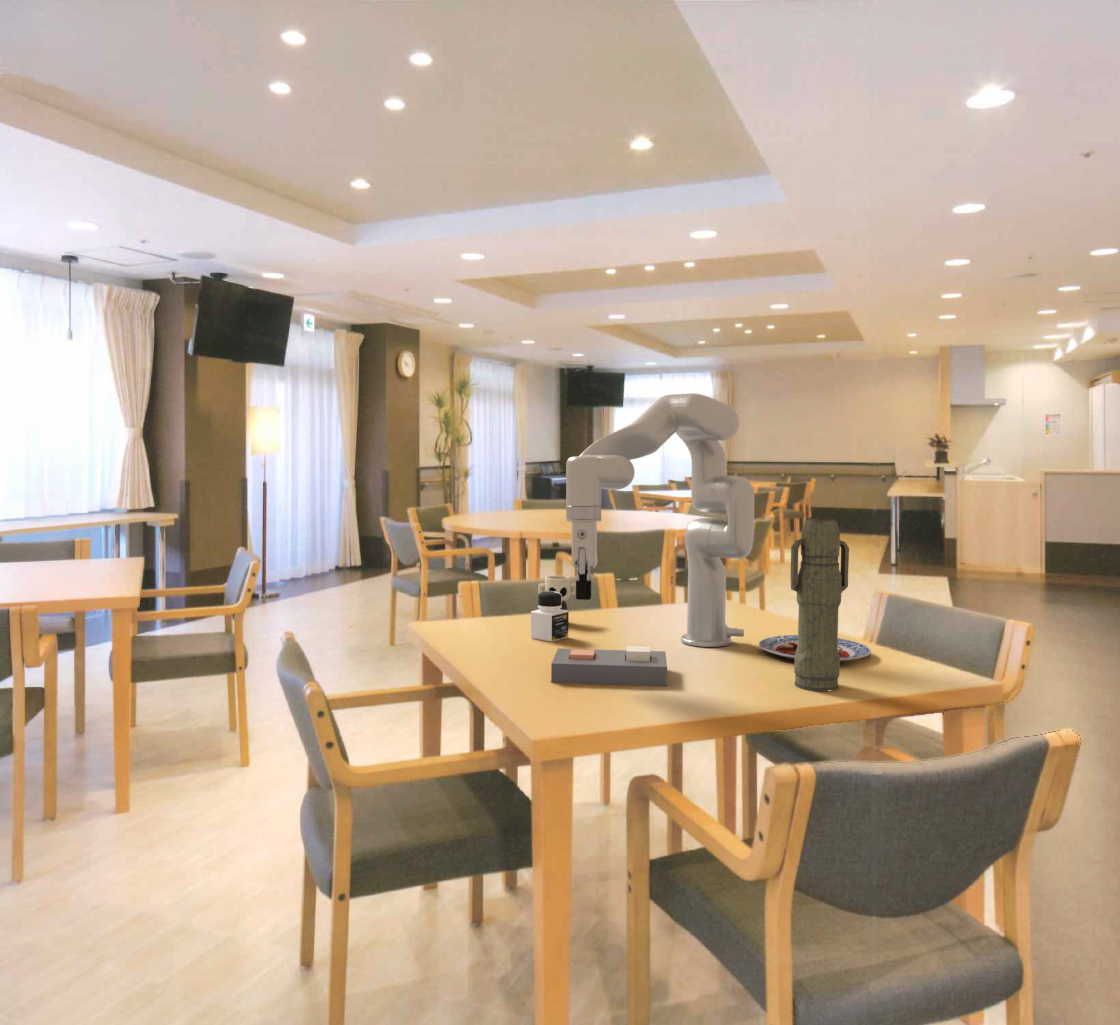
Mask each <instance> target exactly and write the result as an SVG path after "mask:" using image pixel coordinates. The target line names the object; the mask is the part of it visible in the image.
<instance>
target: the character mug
mask: <svg viewBox="0 0 1120 1025" xmlns="http://www.w3.org/2000/svg"><path fill="white" fill-rule="evenodd" d="M571 587H572V589H573V591H571ZM542 588H544V592H545V591H554V592H558V593H560V594H561V595H562V608H560V609H561V610H567V611H568V605H567V603H566V601H568V600H569V599H570V598H571V596H576V582H575V583H571V577H570V576H568V575H567V576H566V575H549V576H545V577H544V583H538V587H537V590H538V591H537V594H538V595H539V593H541V592H543V591H542V590H543V589H542Z"/></svg>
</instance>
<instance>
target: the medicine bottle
mask: <svg viewBox="0 0 1120 1025" xmlns="http://www.w3.org/2000/svg"><path fill="white" fill-rule="evenodd" d="M537 596H538V598H537V608H538V609H536V610H531V611H530V638H531V639H533V640H539V641H545V642H551V643H554V642H557V641H561V640H563V639H564V640H565V639H568V638H569V610H568V609H567V610H561V609H560V608H562V595H561V594H560V593H558V592H554V591H545V590H544V591H542V592H541V593H539V594H538V595H537Z"/></svg>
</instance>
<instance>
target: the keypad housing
mask: <svg viewBox="0 0 1120 1025" xmlns="http://www.w3.org/2000/svg"><path fill="white" fill-rule="evenodd" d="M572 649H573V648H559V647H558V648H557V650H556V653H554V656H553V659H552V661H551V672H550V673H551V676H550V677H551V680H550V682H551V683H563V684H564V683H567V684H591V685H592V684H593V685H595V684H596V685H620V686H621V685H622V686H624V685H625V686H627V685H628V686H652V687H653V686H654V687H657V686H658V687H668V663H667V655H666V654H667V653H666V652H667V651H664V650H663V651H659V650H650V662H647V661H626V650H627V649H626V650H623V649H594V648H593V649H592V648H591V649H590V648H589V649H587V648H577V649H578V650H595V660H580V659H570V653H571V650H572Z"/></svg>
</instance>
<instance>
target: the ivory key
mask: <svg viewBox="0 0 1120 1025" xmlns="http://www.w3.org/2000/svg"><path fill="white" fill-rule="evenodd" d="M650 651H651V647H650V646H639V645H638V646H637V645H626V661H647V662H650Z"/></svg>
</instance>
